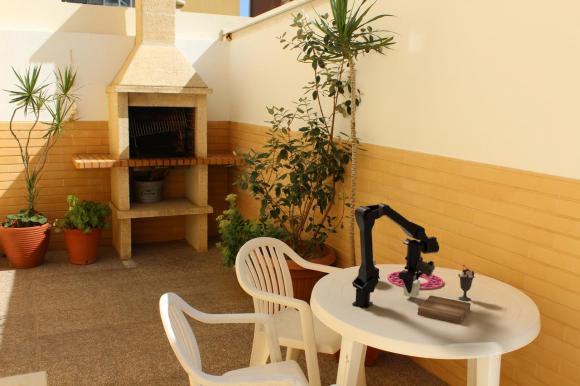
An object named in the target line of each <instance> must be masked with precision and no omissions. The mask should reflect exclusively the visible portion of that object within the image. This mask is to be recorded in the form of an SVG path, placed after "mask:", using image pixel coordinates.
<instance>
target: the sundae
mask: <svg viewBox="0 0 580 386" xmlns="http://www.w3.org/2000/svg"><path fill="white" fill-rule="evenodd" d="M462 266H463V267H465V268H463V269H462V270H461V272H460V273H458V274H457V276H458V278H459V285H460V289H461V290H462V291H463V295H462V296H459V297H458V299H459V301H462V302H470V301H471V298H470V297H468V296H467V292H469V290H470V289H471V288H472V285H473V280H474V279H475V278H476V276H475V271H474V270H471V269H469V268H467V267H466V265H465V264H463V265H462Z"/></svg>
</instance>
